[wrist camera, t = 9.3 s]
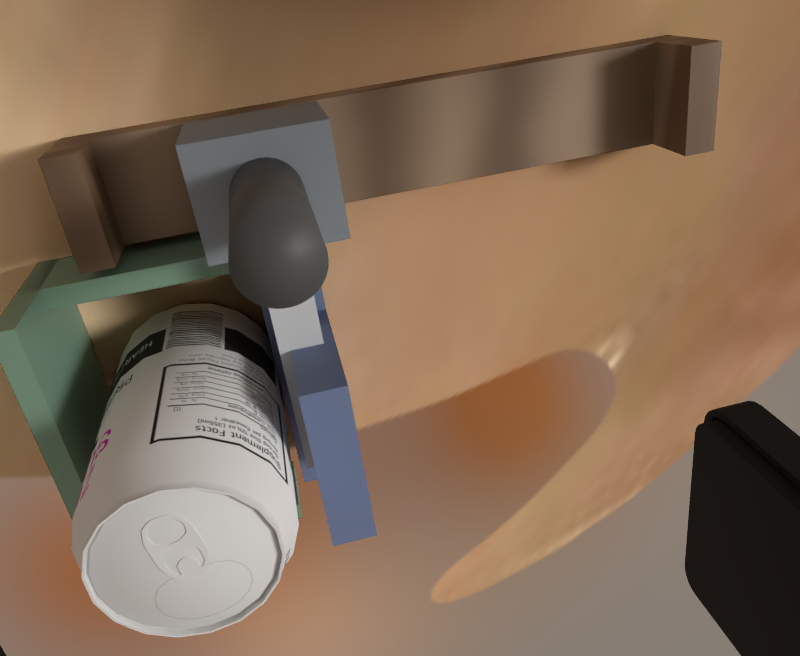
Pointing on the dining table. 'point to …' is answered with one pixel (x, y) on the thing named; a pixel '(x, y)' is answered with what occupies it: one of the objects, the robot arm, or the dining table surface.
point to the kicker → (286, 275)
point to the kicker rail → (410, 135)
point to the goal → (81, 347)
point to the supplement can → (188, 478)
